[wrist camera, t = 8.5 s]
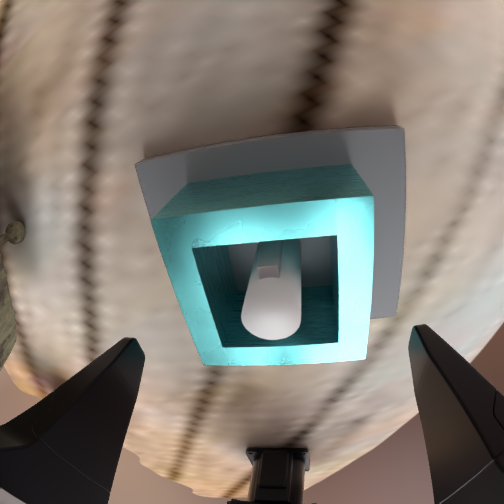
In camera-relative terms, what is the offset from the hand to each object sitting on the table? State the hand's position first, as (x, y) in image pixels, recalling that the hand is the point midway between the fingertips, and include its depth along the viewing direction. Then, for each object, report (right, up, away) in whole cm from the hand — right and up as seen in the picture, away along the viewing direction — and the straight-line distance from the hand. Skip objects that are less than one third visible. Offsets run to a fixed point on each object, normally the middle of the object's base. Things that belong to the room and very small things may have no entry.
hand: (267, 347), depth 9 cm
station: (+1, +4, +6) cm, 7 cm away
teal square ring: (+1, +3, +5) cm, 6 cm away
